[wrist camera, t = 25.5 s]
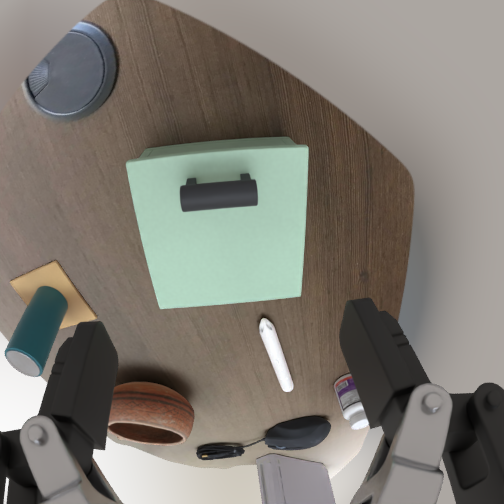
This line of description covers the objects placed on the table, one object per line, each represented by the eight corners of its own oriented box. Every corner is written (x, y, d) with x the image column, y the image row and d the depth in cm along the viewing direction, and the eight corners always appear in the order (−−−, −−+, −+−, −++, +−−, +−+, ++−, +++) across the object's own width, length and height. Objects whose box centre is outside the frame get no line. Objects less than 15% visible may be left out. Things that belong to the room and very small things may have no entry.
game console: (272, 452, 70) (283, 519, 54) (326, 463, 83) (339, 515, 66) (255, 458, 72) (264, 523, 56) (311, 469, 85) (323, 520, 68)
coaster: (10, 280, 34) (9, 282, 34) (56, 259, 34) (55, 261, 33) (49, 330, 40) (49, 332, 40) (97, 316, 39) (96, 318, 39)
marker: (254, 314, 41) (256, 327, 39) (269, 310, 41) (272, 323, 39) (280, 383, 51) (283, 394, 49) (292, 380, 51) (295, 391, 49)
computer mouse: (332, 422, 64) (338, 442, 59) (209, 456, 69) (210, 474, 64) (322, 408, 59) (328, 430, 54) (189, 444, 63) (189, 465, 59)
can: (29, 291, 35) (-4, 352, 26) (53, 281, 35) (20, 346, 25) (50, 317, 38) (24, 379, 29) (74, 310, 38) (50, 376, 28)
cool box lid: (127, 159, 23) (109, 181, 19) (306, 144, 24) (325, 162, 20) (160, 303, 31) (155, 339, 27) (299, 291, 32) (310, 325, 27)
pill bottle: (358, 384, 55) (374, 426, 47) (332, 391, 55) (345, 434, 47) (362, 369, 52) (379, 413, 44) (334, 376, 52) (349, 422, 44)
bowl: (111, 404, 52) (104, 449, 43) (99, 355, 44) (86, 409, 35) (191, 413, 55) (191, 459, 46) (197, 367, 47) (198, 423, 38)
